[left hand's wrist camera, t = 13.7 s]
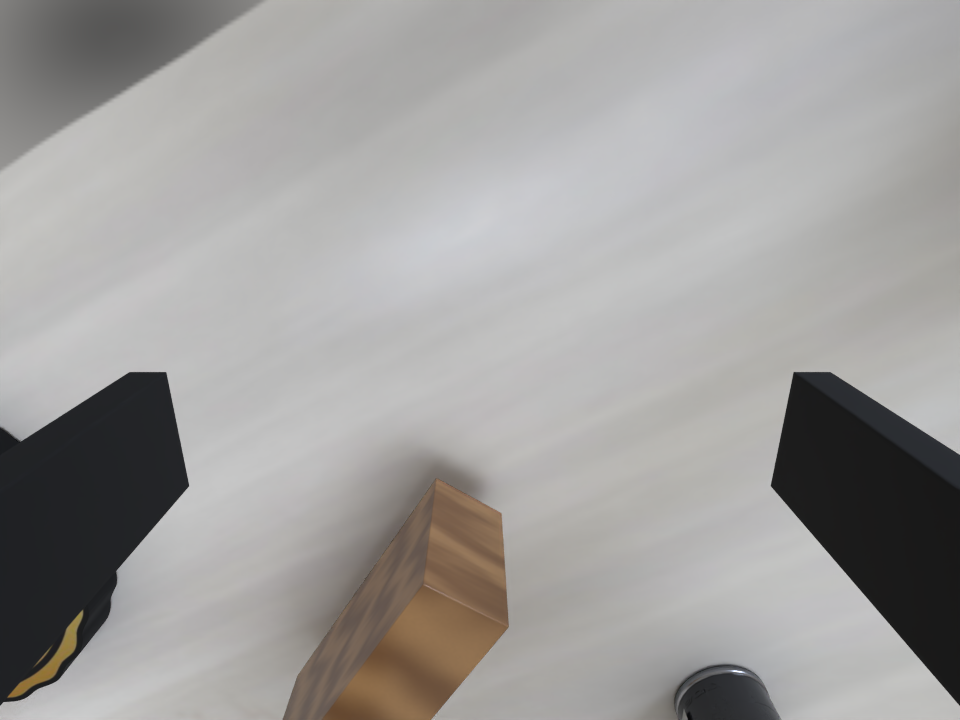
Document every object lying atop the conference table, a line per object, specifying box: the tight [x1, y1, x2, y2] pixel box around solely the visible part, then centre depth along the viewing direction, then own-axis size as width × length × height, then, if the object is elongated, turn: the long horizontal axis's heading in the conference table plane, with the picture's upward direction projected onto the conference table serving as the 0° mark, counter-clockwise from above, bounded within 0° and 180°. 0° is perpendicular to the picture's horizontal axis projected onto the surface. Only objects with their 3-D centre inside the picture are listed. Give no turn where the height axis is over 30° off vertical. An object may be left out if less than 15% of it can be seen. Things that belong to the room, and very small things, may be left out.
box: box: [283, 478, 509, 720], centre depth 44 cm, size 25×6×12 cm, turn 148°
